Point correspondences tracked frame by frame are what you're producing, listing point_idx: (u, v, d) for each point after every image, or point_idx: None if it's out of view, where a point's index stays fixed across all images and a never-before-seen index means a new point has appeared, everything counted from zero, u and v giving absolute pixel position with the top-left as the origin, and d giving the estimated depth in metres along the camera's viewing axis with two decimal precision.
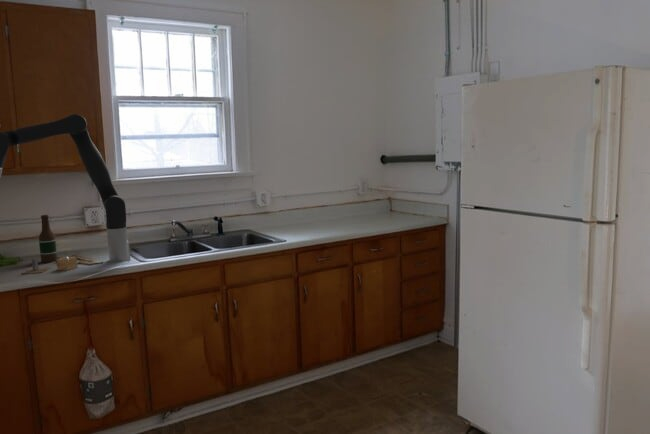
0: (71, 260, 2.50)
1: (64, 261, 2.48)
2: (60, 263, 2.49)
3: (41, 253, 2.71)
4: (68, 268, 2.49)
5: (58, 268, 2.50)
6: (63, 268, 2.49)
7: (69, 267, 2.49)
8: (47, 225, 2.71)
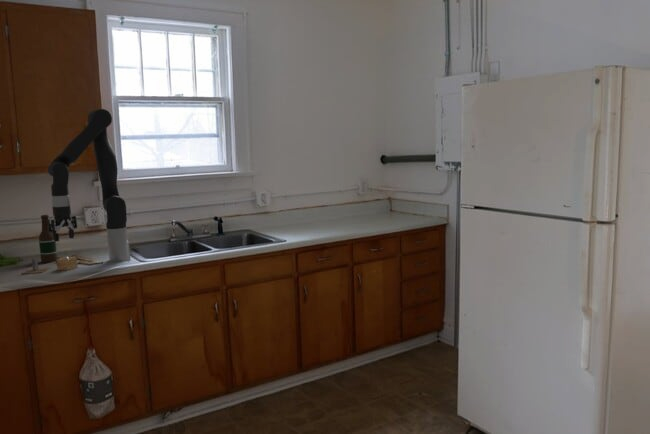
0: (71, 260, 2.50)
1: (64, 261, 2.48)
2: (60, 263, 2.49)
3: (41, 253, 2.71)
4: (68, 268, 2.49)
5: (58, 268, 2.50)
6: (63, 268, 2.49)
7: (69, 267, 2.49)
8: (47, 225, 2.71)
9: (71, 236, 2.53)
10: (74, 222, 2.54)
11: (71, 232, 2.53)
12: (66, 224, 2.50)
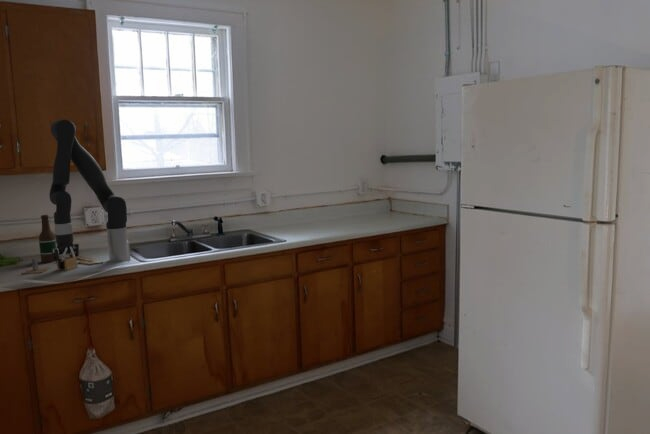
0: (71, 260, 2.50)
1: (64, 261, 2.48)
2: None
3: (41, 253, 2.71)
4: (68, 268, 2.49)
5: (58, 268, 2.50)
6: None
7: (69, 267, 2.49)
8: (47, 225, 2.71)
9: None
10: (76, 250, 2.56)
11: None
12: (68, 251, 2.51)
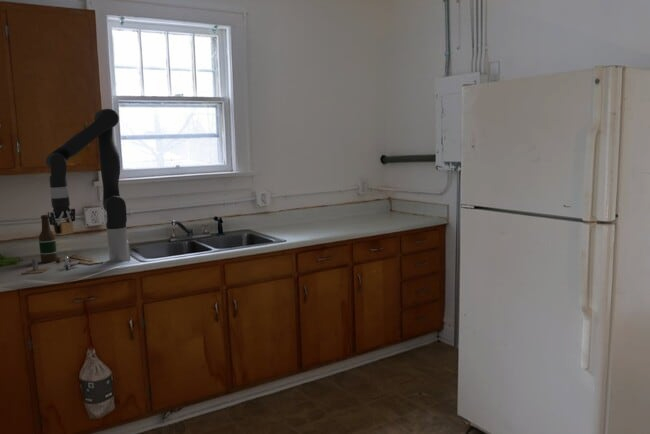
0: (67, 225, 2.48)
1: (60, 225, 2.46)
2: None
3: (41, 253, 2.71)
4: (64, 232, 2.47)
5: (54, 233, 2.48)
6: None
7: (65, 232, 2.47)
8: (47, 225, 2.71)
9: None
10: (72, 215, 2.53)
11: None
12: (65, 215, 2.49)
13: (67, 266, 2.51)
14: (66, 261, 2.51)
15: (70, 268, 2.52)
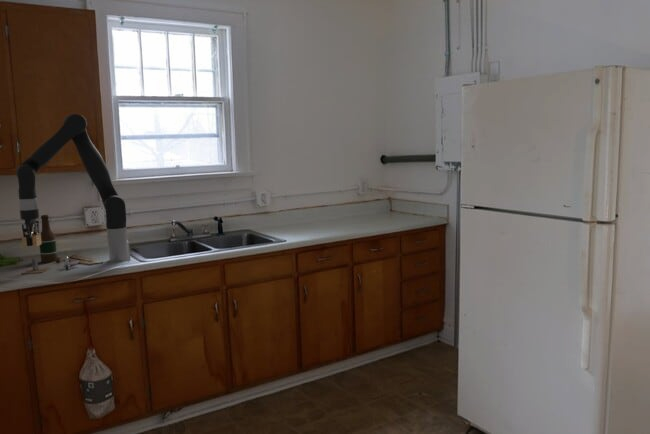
0: (38, 236, 2.47)
1: (33, 237, 2.44)
2: None
3: (41, 253, 2.71)
4: (37, 244, 2.45)
5: (24, 245, 2.44)
6: None
7: (37, 243, 2.46)
8: (47, 225, 2.71)
9: None
10: (37, 226, 2.51)
11: None
12: (34, 227, 2.47)
13: (67, 266, 2.51)
14: (66, 261, 2.51)
15: (70, 268, 2.52)
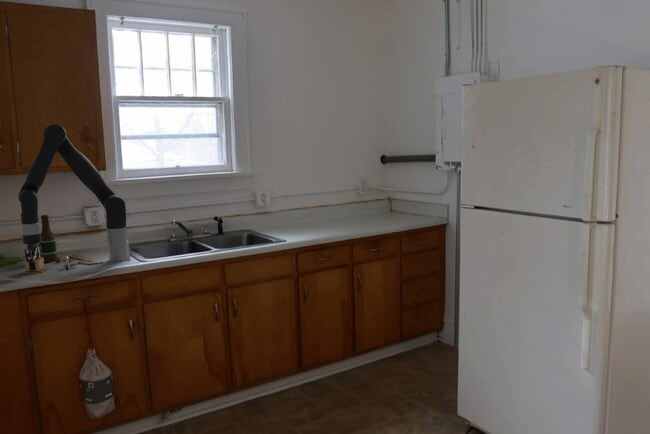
0: (41, 260, 2.48)
1: (36, 261, 2.45)
2: None
3: None
4: (40, 268, 2.47)
5: (27, 269, 2.45)
6: None
7: (40, 267, 2.47)
8: (47, 225, 2.71)
9: None
10: (40, 250, 2.53)
11: None
12: (36, 251, 2.48)
13: (67, 266, 2.51)
14: (66, 261, 2.51)
15: (70, 268, 2.52)
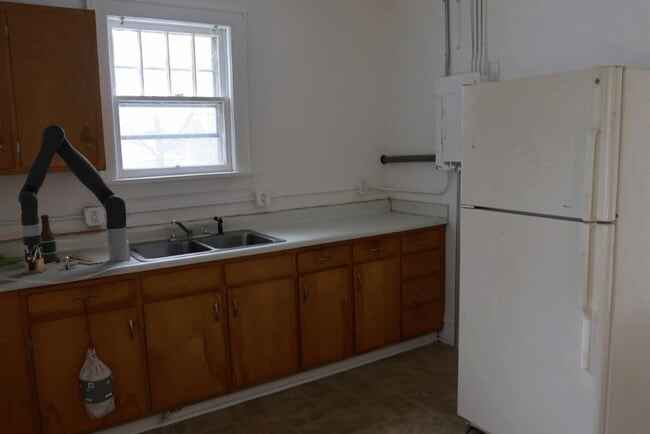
0: (41, 261, 2.48)
1: (35, 262, 2.45)
2: None
3: None
4: (40, 269, 2.47)
5: (27, 270, 2.45)
6: None
7: (40, 268, 2.47)
8: (47, 225, 2.71)
9: None
10: (40, 250, 2.53)
11: None
12: (37, 253, 2.49)
13: (67, 266, 2.51)
14: (66, 261, 2.51)
15: (70, 268, 2.52)
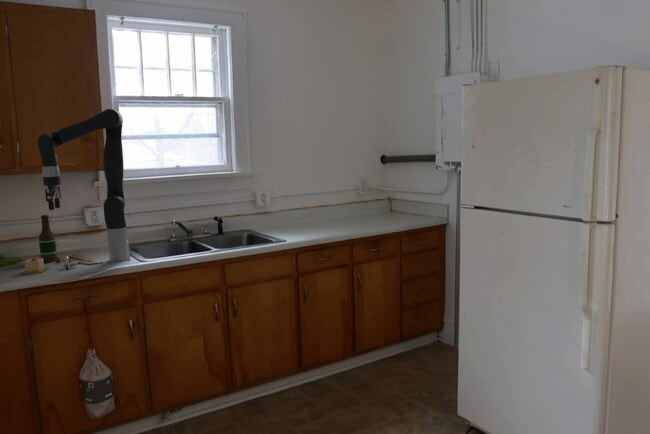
0: (41, 261, 2.48)
1: (35, 262, 2.45)
2: (29, 265, 2.45)
3: (41, 253, 2.71)
4: (40, 269, 2.47)
5: (27, 270, 2.45)
6: (34, 269, 2.46)
7: (40, 268, 2.47)
8: (47, 225, 2.71)
9: (58, 206, 2.64)
10: (59, 192, 2.65)
11: (58, 202, 2.64)
12: (56, 194, 2.61)
13: (67, 266, 2.51)
14: (66, 261, 2.51)
15: (70, 268, 2.52)
